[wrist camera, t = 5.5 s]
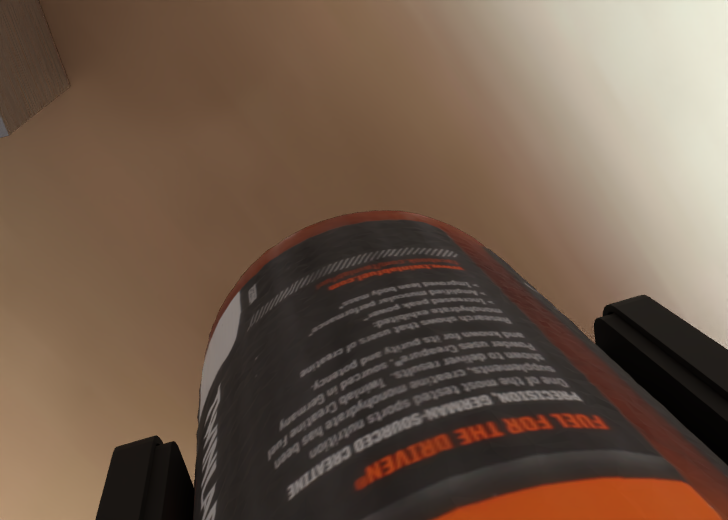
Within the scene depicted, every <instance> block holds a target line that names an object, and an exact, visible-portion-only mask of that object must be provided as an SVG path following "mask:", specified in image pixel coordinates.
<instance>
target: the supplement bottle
mask: <svg viewBox="0 0 728 520" xmlns="http://www.w3.org/2000/svg"><path fill="white" fill-rule="evenodd" d="M199 397H200V398H199V410H198V417H197V418H198V430H197V457H196V465H195V480H194V511H193V520H728V466H727V465H726V464H725V463H724V462H723V461H722V460H721V459H720V458H719V457H718V456H717V455H716V454H715V453H713V452H712V451H711V450H710V449H709V448H708V447H707V446H706V445H705V444H704V443H703V442H702V441H700V440H699V439H698V438H697V437H696V436H695V435H694V434H693V433H691V432H690V431H689V430H688V429H687V428H686V427H685V426H684V425H683V424H682V423H681V422H679V421H678V420H677V419H676V418H675V417H674V416H673V415H672V414H671V413H670V412H669V411H668V410H667V409H666V408H665V407H664V406H663V405H662V404H661V403H659V402H658V401H657V400H656V399H655V398H653V397H652V396H651V395H650V394H649V393H648V392H647V391H646V390H645V389H644V388H642V387H641V386H640V385H639V384H637V383H636V382H635V381H634V379H633V378H632V377H631V376H630V375H629V374H628V373H626V372H625V371H624V370H623V369H622V368H621V367H620V366H619V365H618V364H617V363H616V362H615V361H613V360H612V359H611V358H610V357H609V356H608V355H607V354H606V353H605V352H604V351H603V350H602V349H600V348H599V347H598V346H597V345H596V344H594V343H593V342H592V341H591V340H590V339H589V338H588V337H587V336H586V335H585V334H584V333H583V332H582V331H580V330H579V329H578V328H577V326H576V325H575V324H574V323H573V322H572V321H570V320H569V319H568V318H567V317H566V316H564V315H563V314H562V313H561V312H560V311H558V310H557V309H556V308H555V306H554V305H553V304H552V303H550V302H549V301H548V300H547V299H546V298H544V297H543V296H542V295H541V294H540V293H539V292H538V291H537V290H536V289H535V288H534V287H532V286H531V285H530V284H529V283H528V282H527V281H526V280H524V279H523V278H522V277H521V276H520V275H519V274H518V273H516V272H515V271H514V270H513V269H512V268H511V267H510V265H508V264H507V263H506V262H505V261H503V260H502V259H501V258H500V257H498V256H497V255H496V254H495V253H493V252H492V251H491V250H489V249H487V248H486V247H485V246H483V245H482V244H481V243H480V242H478V241H477V240H476V239H475V238H473V237H471V236H469V235H468V234H466V233H464V232H462V231H461V230H459V229H457V228H455V227H453V226H451V225H449V224H446V223H444V222H441V221H438V220H435V219H433V218H429V217H426V216H423V215H420V214H415V213H409V212H403V211H369V212H357V213H352V214H347V215H342V216H338V217H334V218H331V219H327V220H324V221H321V222H319V223H316V224H313V225H310V226H308V227H306V228H304V229H302V230H300V231H298V232H296V233H294V234H292V235H291V236H289V237H287V238H285V239H284V240H282V241H281V242H280V243H278V244H277V245H275V246H274V247H272V248H271V249H269V250H267V251H266V252H265V253H264V254H263V255H262V256H261V257H260V258H259V259H257V260H256V261H255V262H254V263H253V264H252V265H251V266H250V267H249V268H248V270H247V271H246V272H245V273H244V274H243V275H242V276H241V278H240V279H239V281H238V282H237V284H236V285H235V287H234V288H233V289H232V290H231V292H230V293H229V294H228V296H227V298H226V300H225V301H224V303H223V305H222V306H221V308H220V310H219V312H218V314H217V317H216V320H215V322H214V324H213V326H212V330H211V332H210V335H209V341H208V345H207V349H206V353H205V360H204V365H203V370H202V379H201V385H200V390H199Z"/></svg>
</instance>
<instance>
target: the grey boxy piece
mask: <svg viewBox="0 0 728 520" xmlns="http://www.w3.org/2000/svg"><path fill="white" fill-rule="evenodd" d="M69 87H70V83H69V80H68V78H67V75H66V72H65V70H64V67H63V64H62V62H61V59H60V56H59V54H58V51H57V48H56V46H55V43H54V40H53V38H52V35H51V32H50V30H49V27H48V24H47V22H46V19H45V16H44V14H43V11H42V8H41V6H40V3H39V0H0V138H1V137H5V136H9V135H10V134H11V133H13V132H14V131H15V130H16V129H18V128H19V127H20V126H21V125H23V124H24V123H25V122H26V121H28V120H29V119H30V118H31V117H33V116H34V115H35V114H36V113H38V112H39V111H40V110H41V109H43V108H44V107H45V106H46V105H48V104H49V103H50V102H51V101H53V100H54V99H55V98H56V97H58V96H59V95H60V94H61V93H63V92H64V91H65V90H66V89H68V88H69Z"/></svg>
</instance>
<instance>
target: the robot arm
mask: <svg viewBox="0 0 728 520" xmlns="http://www.w3.org/2000/svg"><path fill="white" fill-rule="evenodd" d="M594 333H595V342H596V345H597V346H598V347H599V348H600V349H602V350H603V351H604V352H605V353H606V354H607V355H608V356H609V357H610V358H611V359H612V360H613V361H615V362H616V363H617V364H618V365H619V366H620V367H621V368H622V369H623V370H624V371H625V372H626V373H628V374H629V375H630V376H631V377H632V378H633V379H634V381H635V382H636V383H637V384H639V385H640V386H641V387H642V388H644V389H645V390H646V391H647V392H648V393H649V394H650V395H651V396H652V397H653V398H655V399H656V400H657V401H658V402H659V403H661V404H662V405H663V406H664V407H665V408H666V409H667V410H668V411H669V412H670V413H671V414H672V415H673V416H674V417H675V418H676V419H677V420H678V421H679V422H681V423H682V424H683V425H684V426H685V427H686V428H687V429H688V430H689V431H690V432H691V433H693V434H694V435H695V436H696V437H697V438H698V439H699V440H700V441H702V442H703V443H704V444H705V445H706V446H707V447H708V448H709V449H710V450H711V451H712V452H713V453H715V454H716V455H717V456H718V457H719V458H720V459H721V460H722V461H723V462H724V463H725V464H726V465H727V466H728V350H727V349H726V348H724V347H723V346H721V345H720V344H718V343H717V342H715V341H714V340H712V339H711V338H709V337H708V336H706V335H705V334H703V333H702V332H700V331H699V330H698V329H696V328H695V327H693V326H692V325H690V324H689V323H687V322H686V321H684V320H683V319H681V318H680V317H678V316H677V315H675V314H674V313H672V312H671V311H669V310H668V309H666V308H665V307H663V306H662V305H660V304H659V303H657V302H656V301H654V300H653V299H651V298H650V297H648V296H646V295H640V296H637V297H633V298H630V299H626V300H623V301H619V302H616V303H612V304H609V305H606V307H605V308H604V310H603V317H599V318H597V319H596V320H595V323H594ZM193 511H194V486H193V484H192V481H191V479H190V476H189V473H188V471H187V468H186V465H185V463H184V460H183V457H182V455H181V452H180V450H179V448H178V445H177V444H176V442H174V441H172V442H169V443H166V444H163V442H162V440H161V439H160V438H159V437H158V436H157V435H156V436H152V437H149V438H145V439H142V440H138V441H135V442H131V443H128V444H124V445H121V446H118V447H116V448H115V449H114V452H113V455H112V459H111V463H110V466H109V470H108V474H107V478H106V482H105V485H104V489H103V493H102V497H101V501H100V504H99V508H98V512H97V516H96V520H193Z"/></svg>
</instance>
